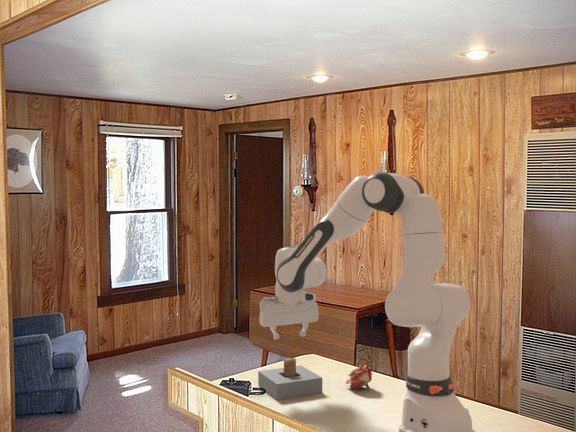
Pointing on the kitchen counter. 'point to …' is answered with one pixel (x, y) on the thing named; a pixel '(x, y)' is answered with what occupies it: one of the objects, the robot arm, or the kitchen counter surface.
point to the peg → (289, 367)
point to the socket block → (290, 383)
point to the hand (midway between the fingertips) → (289, 337)
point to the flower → (360, 377)
